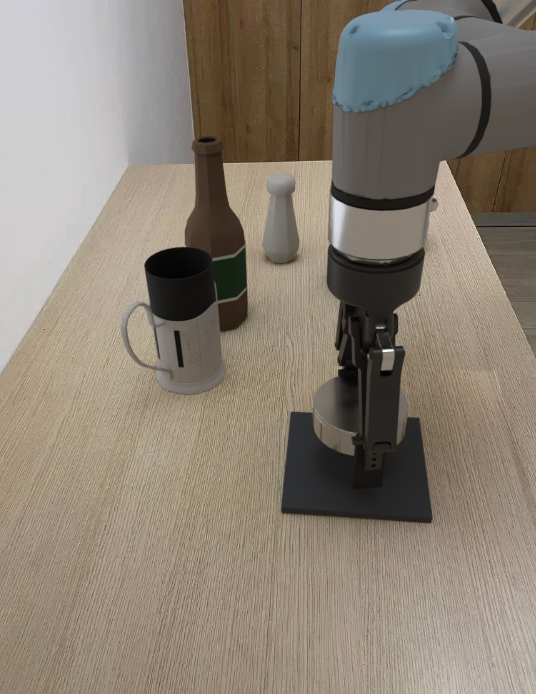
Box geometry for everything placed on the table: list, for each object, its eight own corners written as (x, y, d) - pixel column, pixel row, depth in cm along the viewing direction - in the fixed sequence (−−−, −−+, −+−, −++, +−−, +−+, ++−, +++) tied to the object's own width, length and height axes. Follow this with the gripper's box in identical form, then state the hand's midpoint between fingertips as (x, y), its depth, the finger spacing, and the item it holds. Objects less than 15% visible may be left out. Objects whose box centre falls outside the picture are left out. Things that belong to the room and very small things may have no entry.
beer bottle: (181, 317, 89) (159, 140, 74) (224, 296, 93) (212, 124, 77) (216, 339, 84) (200, 156, 69) (260, 317, 88) (255, 138, 73)
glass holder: (240, 364, 80) (234, 254, 70) (169, 430, 71) (150, 315, 62) (185, 344, 84) (172, 237, 74) (111, 404, 75) (85, 292, 66)
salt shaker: (258, 263, 100) (255, 181, 92) (268, 246, 104) (267, 167, 96) (294, 267, 98) (295, 184, 90) (303, 250, 102) (305, 169, 94)
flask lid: (330, 465, 58) (331, 442, 56) (301, 404, 65) (301, 382, 63) (420, 446, 59) (424, 423, 58) (383, 389, 66) (386, 366, 64)
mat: (418, 422, 70) (419, 417, 70) (431, 523, 59) (432, 517, 59) (290, 416, 72) (290, 411, 71) (281, 512, 61) (281, 507, 61)
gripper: (469, 314, 42) (422, 533, 56) (392, 187, 58) (371, 381, 73) (354, 322, 42) (337, 539, 56) (310, 193, 58) (305, 386, 73)
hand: (356, 450), depth 64 cm, fingers closed on flask lid, 9 cm apart
